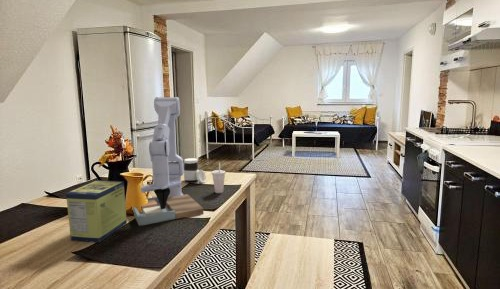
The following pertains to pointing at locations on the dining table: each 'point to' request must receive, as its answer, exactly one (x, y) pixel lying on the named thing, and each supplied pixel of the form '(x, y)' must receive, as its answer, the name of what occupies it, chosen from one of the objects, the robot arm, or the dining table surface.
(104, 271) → the dining table surface
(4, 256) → the dining table surface
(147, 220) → the box
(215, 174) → the smoothie
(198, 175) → the spread jar
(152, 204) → the terracotta tile
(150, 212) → the cream tile
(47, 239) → the dining table surface
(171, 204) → the walnut board
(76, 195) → the protein box
